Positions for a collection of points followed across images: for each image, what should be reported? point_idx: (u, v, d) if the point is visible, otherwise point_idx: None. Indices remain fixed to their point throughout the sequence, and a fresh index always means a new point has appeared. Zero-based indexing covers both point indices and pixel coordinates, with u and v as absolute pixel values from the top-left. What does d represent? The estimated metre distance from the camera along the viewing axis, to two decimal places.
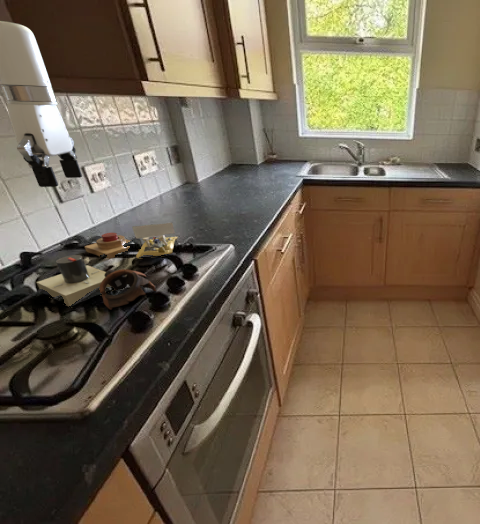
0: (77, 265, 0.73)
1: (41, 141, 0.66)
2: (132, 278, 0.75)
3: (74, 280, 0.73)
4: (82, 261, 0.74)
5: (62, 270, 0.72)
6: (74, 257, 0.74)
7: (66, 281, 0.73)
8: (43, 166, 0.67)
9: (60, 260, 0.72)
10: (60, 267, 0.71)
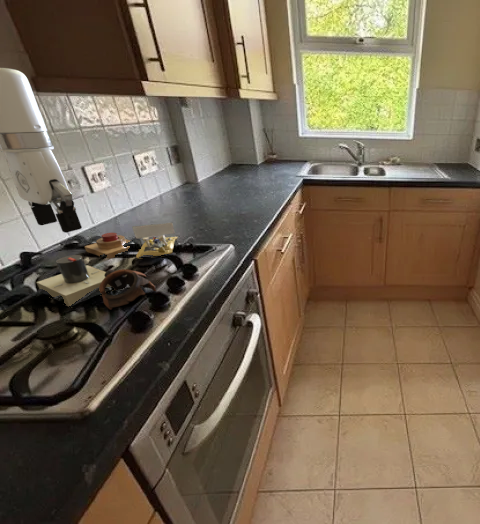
0: (77, 265, 0.73)
1: (65, 185, 0.66)
2: (132, 278, 0.75)
3: (74, 280, 0.73)
4: (82, 261, 0.74)
5: (62, 270, 0.72)
6: (74, 257, 0.74)
7: (66, 281, 0.73)
8: (73, 210, 0.67)
9: (60, 260, 0.72)
10: (60, 267, 0.71)
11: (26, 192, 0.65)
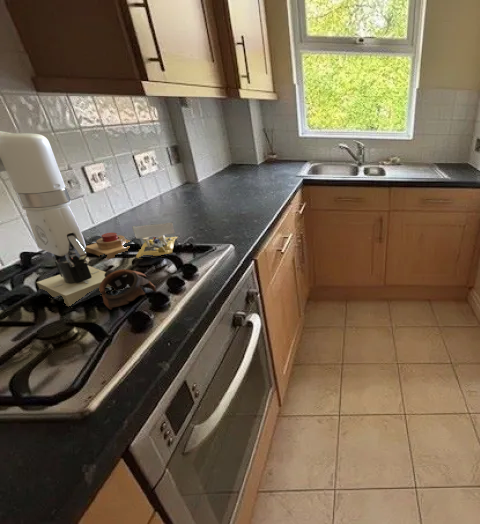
0: None
1: (81, 237, 0.70)
2: (132, 278, 0.75)
3: None
4: None
5: (62, 270, 0.72)
6: None
7: (66, 281, 0.73)
8: (84, 262, 0.72)
9: (60, 260, 0.72)
10: (60, 267, 0.71)
11: (45, 244, 0.69)
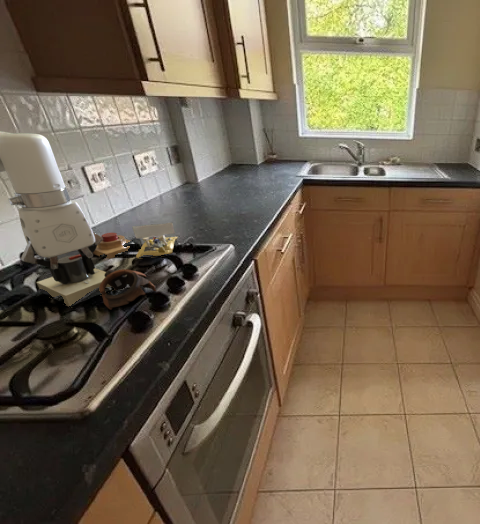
0: None
1: None
2: (132, 278, 0.75)
3: (88, 274, 0.76)
4: None
5: (80, 267, 0.73)
6: (67, 257, 0.73)
7: (84, 278, 0.74)
8: None
9: (68, 261, 0.72)
10: (78, 264, 0.73)
11: (67, 243, 0.70)
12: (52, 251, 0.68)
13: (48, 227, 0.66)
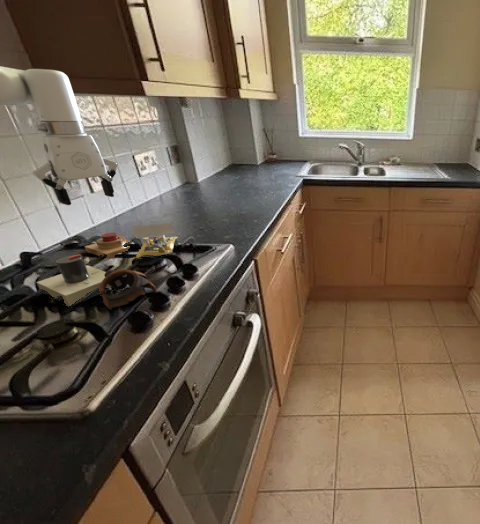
0: None
1: None
2: (132, 278, 0.75)
3: (88, 274, 0.76)
4: None
5: (80, 267, 0.73)
6: (67, 258, 0.73)
7: (84, 278, 0.74)
8: None
9: (69, 261, 0.72)
10: (78, 264, 0.73)
11: (83, 170, 0.81)
12: (70, 175, 0.79)
13: (67, 153, 0.78)
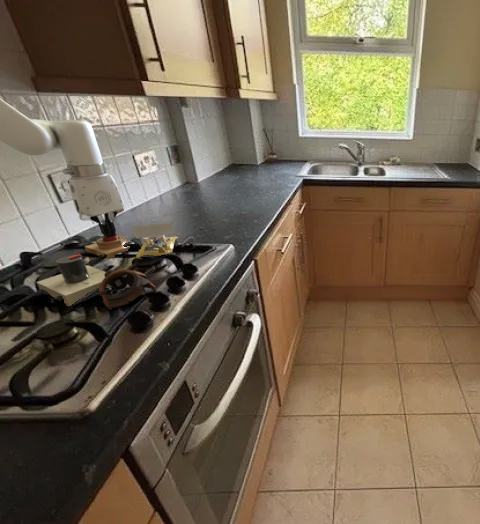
0: None
1: None
2: (132, 278, 0.75)
3: (88, 274, 0.76)
4: None
5: (80, 267, 0.73)
6: (67, 258, 0.73)
7: (84, 278, 0.74)
8: None
9: (69, 261, 0.72)
10: (78, 264, 0.73)
11: (104, 206, 0.90)
12: (93, 211, 0.88)
13: (91, 192, 0.87)
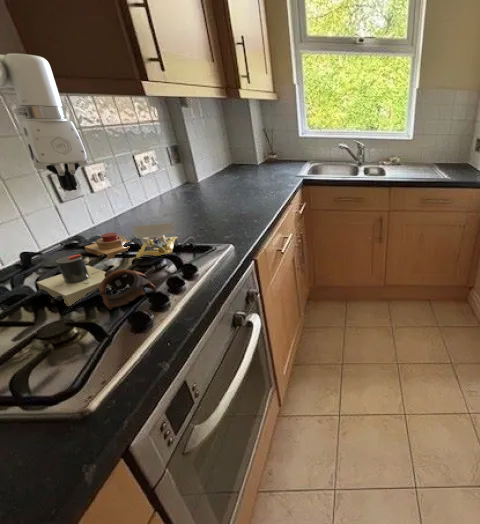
0: None
1: None
2: (132, 278, 0.75)
3: (88, 274, 0.76)
4: None
5: (80, 267, 0.73)
6: (67, 258, 0.73)
7: (84, 278, 0.74)
8: None
9: (69, 261, 0.72)
10: (78, 264, 0.73)
11: (62, 154, 0.82)
12: (49, 159, 0.80)
13: (47, 137, 0.79)
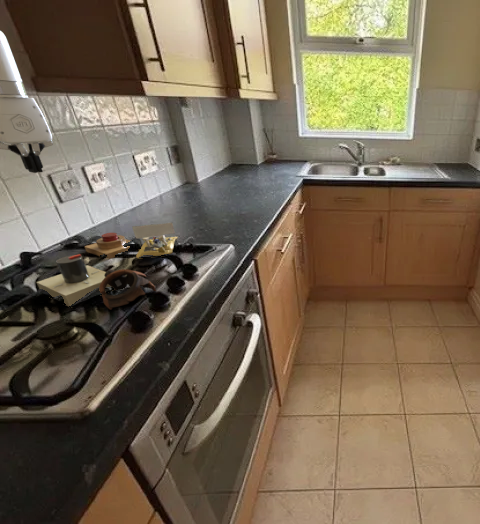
0: None
1: None
2: (132, 278, 0.75)
3: (88, 274, 0.76)
4: None
5: (80, 267, 0.73)
6: (67, 258, 0.73)
7: (84, 278, 0.74)
8: None
9: (69, 261, 0.72)
10: (78, 264, 0.73)
11: (24, 133, 0.78)
12: (10, 138, 0.76)
13: (6, 114, 0.75)
